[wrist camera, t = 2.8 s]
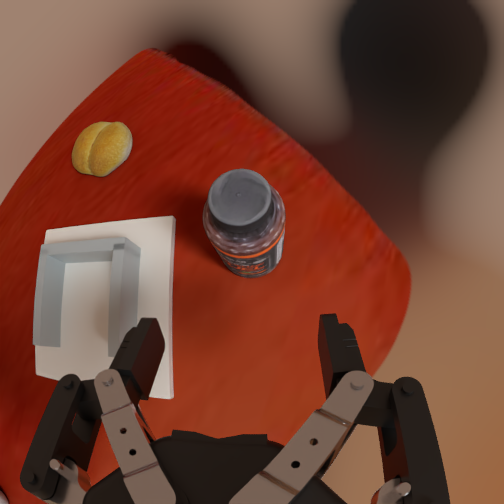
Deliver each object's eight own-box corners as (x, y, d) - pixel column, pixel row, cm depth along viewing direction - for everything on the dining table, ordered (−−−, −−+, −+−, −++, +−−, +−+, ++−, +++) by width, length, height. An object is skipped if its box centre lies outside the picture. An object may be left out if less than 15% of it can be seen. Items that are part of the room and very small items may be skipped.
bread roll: (118, 182, 33) (102, 166, 29) (72, 174, 34) (56, 160, 30) (146, 130, 35) (135, 111, 31) (99, 127, 36) (86, 110, 32)
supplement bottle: (219, 278, 28) (183, 239, 17) (224, 220, 30) (196, 156, 19) (282, 281, 28) (286, 242, 17) (284, 221, 29) (286, 155, 18)
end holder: (173, 397, 25) (155, 406, 21) (41, 374, 26) (16, 374, 22) (175, 219, 30) (160, 200, 26) (51, 232, 32) (29, 219, 27)
